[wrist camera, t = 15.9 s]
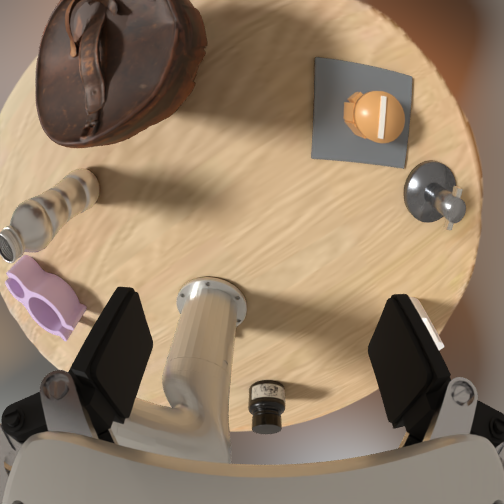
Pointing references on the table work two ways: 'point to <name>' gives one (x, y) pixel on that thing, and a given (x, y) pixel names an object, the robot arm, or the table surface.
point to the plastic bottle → (48, 214)
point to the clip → (45, 297)
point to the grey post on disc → (434, 194)
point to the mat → (338, 91)
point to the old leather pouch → (115, 67)
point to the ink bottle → (266, 406)
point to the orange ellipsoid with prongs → (374, 116)
